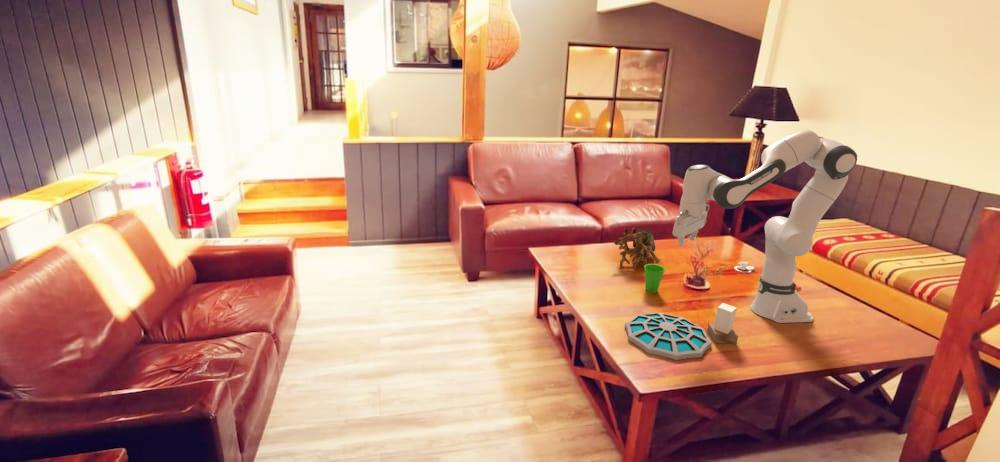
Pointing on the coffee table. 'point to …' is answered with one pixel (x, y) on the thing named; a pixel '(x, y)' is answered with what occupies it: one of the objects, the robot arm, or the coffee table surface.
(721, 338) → the walnut base block
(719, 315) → the cream pillar block
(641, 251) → the decorative coral sculpture
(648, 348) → the decorative platform
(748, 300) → the coffee table surface
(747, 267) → the teacup and saucer
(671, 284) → the coffee table surface
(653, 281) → the cup
